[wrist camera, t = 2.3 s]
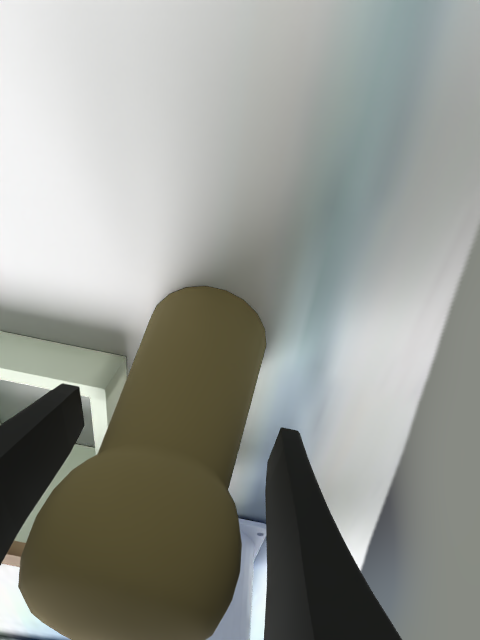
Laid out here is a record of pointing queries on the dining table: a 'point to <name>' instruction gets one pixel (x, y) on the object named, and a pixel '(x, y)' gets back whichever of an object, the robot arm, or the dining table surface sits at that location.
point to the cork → (155, 487)
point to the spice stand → (49, 372)
